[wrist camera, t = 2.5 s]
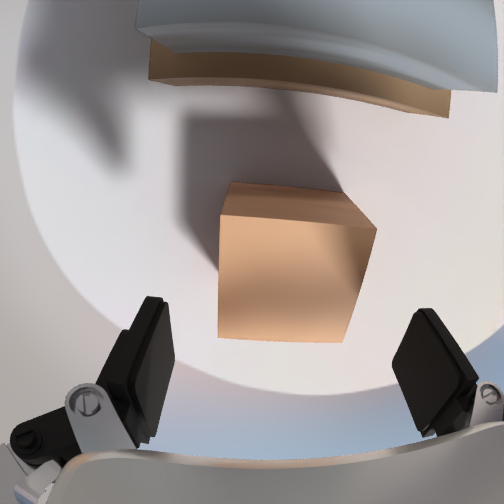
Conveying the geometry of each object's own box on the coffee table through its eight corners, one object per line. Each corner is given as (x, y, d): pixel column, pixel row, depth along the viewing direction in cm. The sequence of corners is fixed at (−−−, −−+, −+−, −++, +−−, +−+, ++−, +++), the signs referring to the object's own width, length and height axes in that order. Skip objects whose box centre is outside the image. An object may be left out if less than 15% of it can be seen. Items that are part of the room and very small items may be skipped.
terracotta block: (231, 181, 15) (220, 214, 11) (343, 192, 15) (377, 228, 11) (226, 279, 18) (217, 337, 13) (324, 286, 18) (342, 342, 14)
